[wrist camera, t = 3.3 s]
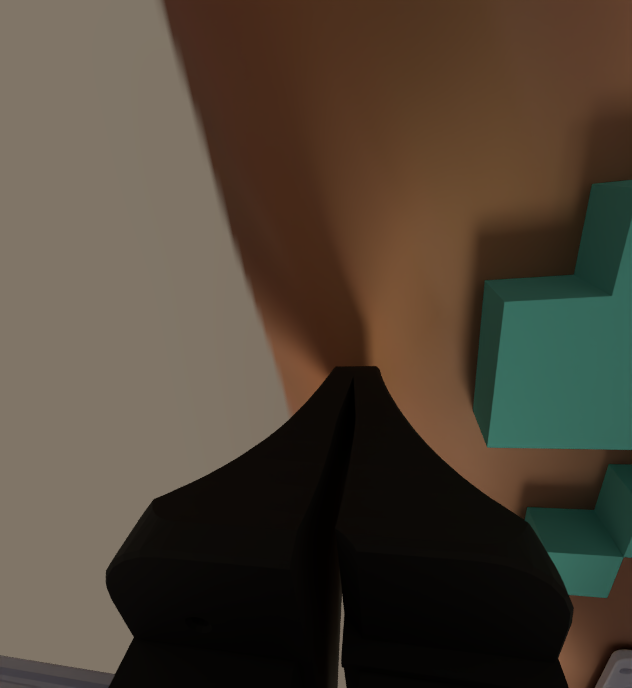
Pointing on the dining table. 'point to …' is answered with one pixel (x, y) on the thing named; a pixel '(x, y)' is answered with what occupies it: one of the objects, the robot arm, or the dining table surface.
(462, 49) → the dining table surface
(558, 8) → the dining table surface
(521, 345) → the alien figure
